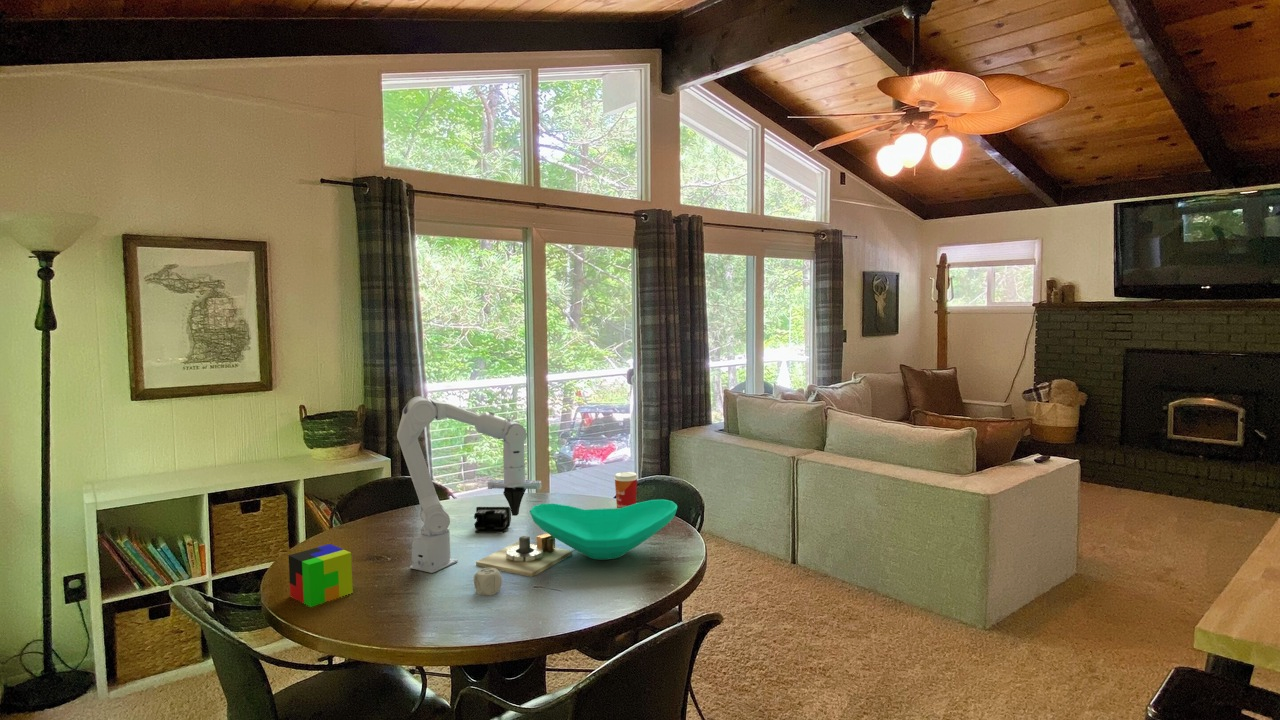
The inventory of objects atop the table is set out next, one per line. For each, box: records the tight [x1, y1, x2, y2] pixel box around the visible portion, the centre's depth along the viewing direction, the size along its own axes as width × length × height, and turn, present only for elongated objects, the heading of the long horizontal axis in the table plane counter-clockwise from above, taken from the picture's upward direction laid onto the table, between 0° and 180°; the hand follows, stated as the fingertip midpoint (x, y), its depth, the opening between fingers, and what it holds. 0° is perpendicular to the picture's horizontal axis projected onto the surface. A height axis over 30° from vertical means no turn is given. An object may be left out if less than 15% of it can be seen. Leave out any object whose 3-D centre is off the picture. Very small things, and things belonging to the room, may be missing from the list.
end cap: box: [473, 506, 512, 534], centre depth 214 cm, size 10×7×7 cm
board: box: [475, 535, 573, 578], centre depth 188 cm, size 18×18×6 cm
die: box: [473, 567, 503, 597], centre depth 167 cm, size 5×5×5 cm
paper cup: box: [613, 471, 639, 508], centre depth 224 cm, size 8×8×14 cm
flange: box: [506, 532, 556, 562], centre depth 189 cm, size 14×10×4 cm
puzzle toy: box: [288, 543, 354, 608], centre depth 166 cm, size 10×10×10 cm
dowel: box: [547, 538, 553, 553], centre depth 191 cm, size 2×2×4 cm
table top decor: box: [529, 498, 678, 561], centre depth 190 cm, size 40×28×13 cm
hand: (515, 514), depth 194 cm, fingers closed
